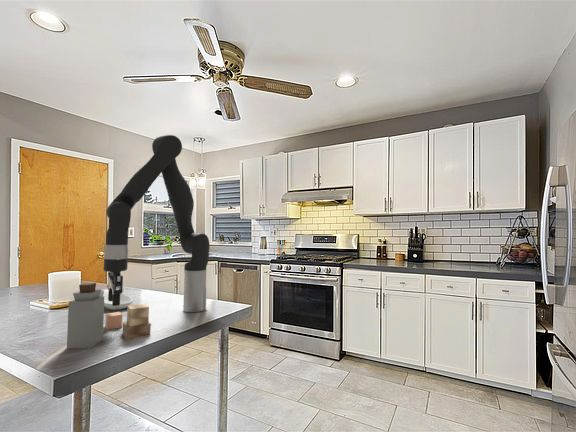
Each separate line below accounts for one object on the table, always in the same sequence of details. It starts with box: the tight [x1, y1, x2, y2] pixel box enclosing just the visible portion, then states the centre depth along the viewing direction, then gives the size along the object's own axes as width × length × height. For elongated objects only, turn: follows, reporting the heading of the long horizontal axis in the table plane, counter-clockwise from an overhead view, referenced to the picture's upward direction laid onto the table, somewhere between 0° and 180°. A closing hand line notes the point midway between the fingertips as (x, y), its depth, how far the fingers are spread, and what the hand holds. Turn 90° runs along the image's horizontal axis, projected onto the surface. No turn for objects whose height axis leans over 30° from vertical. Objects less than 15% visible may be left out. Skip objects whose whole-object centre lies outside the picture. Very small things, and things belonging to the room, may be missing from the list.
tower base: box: [122, 321, 151, 340], centre depth 103 cm, size 7×7×4 cm
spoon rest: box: [99, 288, 134, 311], centre depth 139 cm, size 24×12×7 cm, turn 55°
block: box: [105, 311, 123, 330], centre depth 111 cm, size 4×4×4 cm
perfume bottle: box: [66, 282, 105, 349], centre depth 94 cm, size 7×7×18 cm
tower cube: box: [126, 303, 150, 327], centre depth 103 cm, size 6×6×6 cm
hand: (113, 303), depth 110 cm, fingers open, 8 cm apart
